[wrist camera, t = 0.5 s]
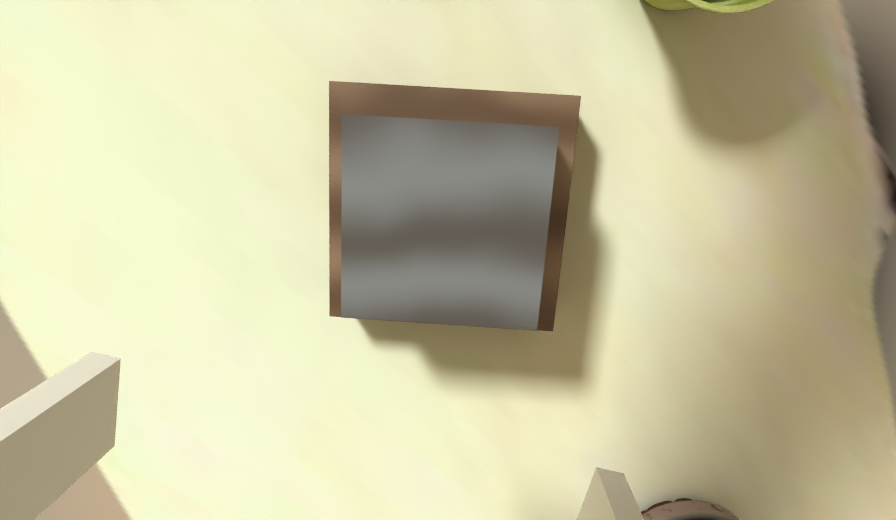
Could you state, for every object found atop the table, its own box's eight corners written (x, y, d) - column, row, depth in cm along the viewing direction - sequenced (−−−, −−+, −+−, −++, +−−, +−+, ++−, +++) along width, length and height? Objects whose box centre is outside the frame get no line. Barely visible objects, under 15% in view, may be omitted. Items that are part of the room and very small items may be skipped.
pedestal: (343, 85, 37) (305, 73, 28) (568, 98, 36) (600, 90, 28) (342, 297, 41) (308, 345, 32) (544, 311, 40) (566, 362, 32)
